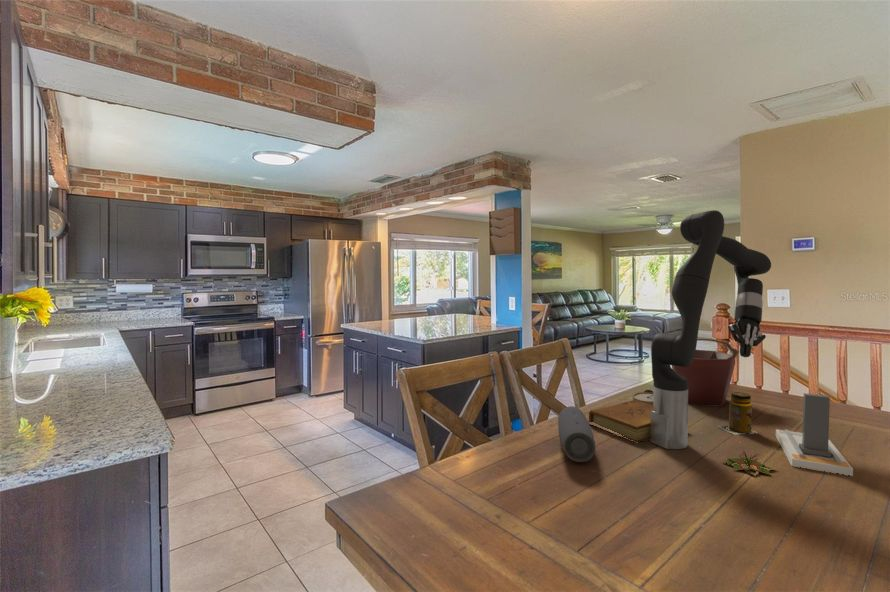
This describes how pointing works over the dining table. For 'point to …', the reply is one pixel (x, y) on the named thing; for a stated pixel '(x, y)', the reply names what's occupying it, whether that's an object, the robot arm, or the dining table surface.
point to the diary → (625, 419)
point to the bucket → (709, 375)
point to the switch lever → (815, 425)
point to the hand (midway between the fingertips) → (744, 356)
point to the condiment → (740, 414)
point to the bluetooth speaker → (576, 434)
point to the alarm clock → (644, 396)
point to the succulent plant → (749, 462)
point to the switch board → (810, 461)
